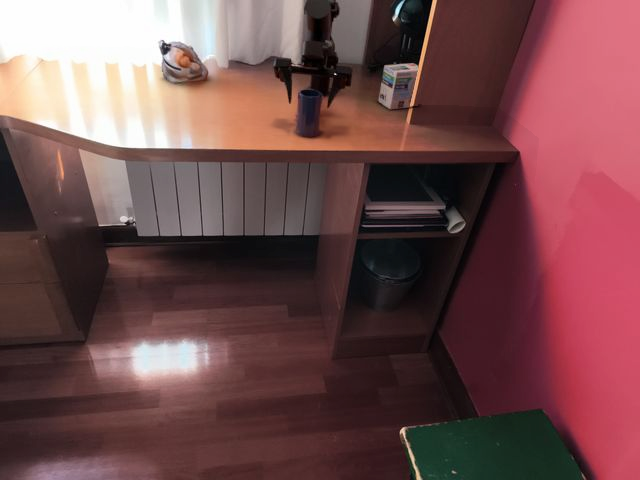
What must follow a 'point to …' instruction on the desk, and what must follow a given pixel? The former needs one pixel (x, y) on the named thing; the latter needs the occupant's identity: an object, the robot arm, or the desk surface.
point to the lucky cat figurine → (181, 62)
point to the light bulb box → (398, 85)
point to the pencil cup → (308, 112)
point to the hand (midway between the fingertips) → (308, 105)
